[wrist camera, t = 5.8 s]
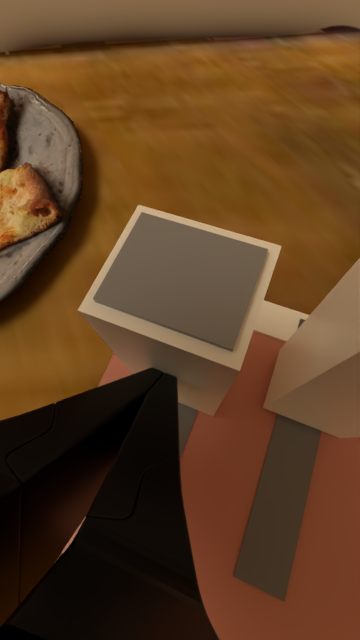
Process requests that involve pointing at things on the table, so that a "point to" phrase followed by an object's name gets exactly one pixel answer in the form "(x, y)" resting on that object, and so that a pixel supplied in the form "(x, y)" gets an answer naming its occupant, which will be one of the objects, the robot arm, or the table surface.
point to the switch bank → (269, 506)
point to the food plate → (34, 181)
